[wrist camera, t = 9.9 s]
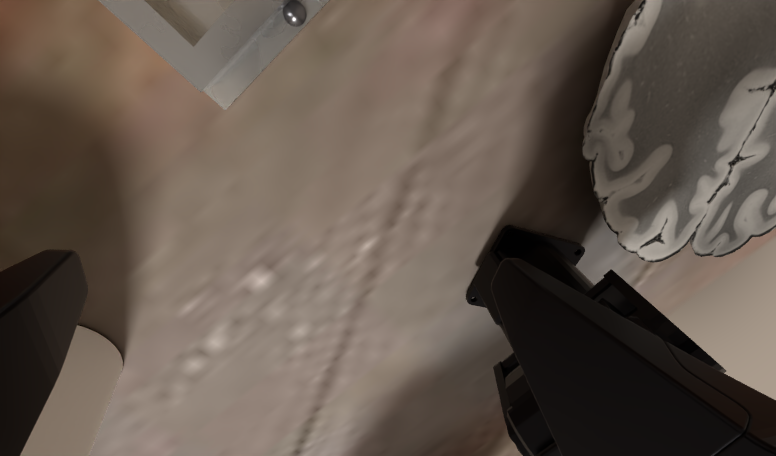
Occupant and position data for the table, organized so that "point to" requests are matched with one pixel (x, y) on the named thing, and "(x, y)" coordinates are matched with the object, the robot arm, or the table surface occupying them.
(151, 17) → the keeper
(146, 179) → the table surface
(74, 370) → the cup
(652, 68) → the brain slice
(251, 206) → the table surface
